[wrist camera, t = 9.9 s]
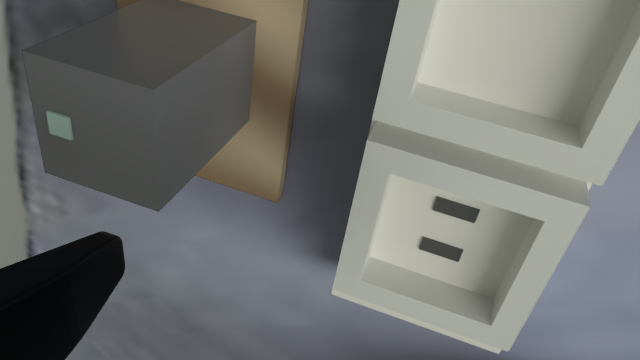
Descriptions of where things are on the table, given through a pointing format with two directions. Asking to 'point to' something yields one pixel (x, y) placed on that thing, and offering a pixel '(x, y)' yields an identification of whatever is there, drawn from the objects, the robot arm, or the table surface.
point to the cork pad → (262, 97)
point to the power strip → (486, 157)
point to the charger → (141, 97)
